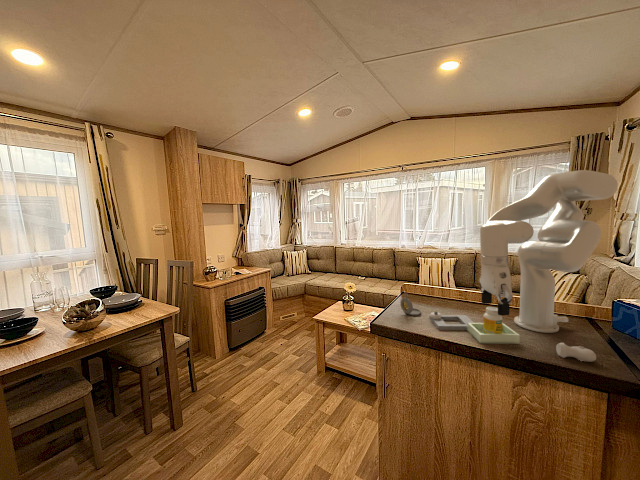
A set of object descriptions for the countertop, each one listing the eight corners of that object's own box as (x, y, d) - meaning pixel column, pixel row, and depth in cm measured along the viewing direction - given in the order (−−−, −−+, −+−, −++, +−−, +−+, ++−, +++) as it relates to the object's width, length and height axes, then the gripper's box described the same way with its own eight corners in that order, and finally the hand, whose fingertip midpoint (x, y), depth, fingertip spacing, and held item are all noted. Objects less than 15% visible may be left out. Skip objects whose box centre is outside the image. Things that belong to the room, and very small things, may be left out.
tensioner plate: (465, 318, 100) (465, 309, 100) (478, 330, 91) (478, 319, 90) (428, 318, 102) (428, 309, 102) (437, 329, 92) (437, 319, 92)
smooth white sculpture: (591, 362, 71) (598, 366, 67) (554, 354, 76) (558, 357, 71) (591, 347, 72) (598, 350, 68) (554, 339, 76) (558, 342, 72)
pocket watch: (422, 311, 109) (422, 289, 108) (418, 319, 102) (418, 295, 101) (403, 308, 114) (403, 287, 113) (398, 315, 107) (398, 293, 106)
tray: (502, 330, 89) (502, 322, 89) (519, 343, 80) (519, 335, 80) (467, 330, 91) (467, 322, 90) (480, 343, 82) (480, 334, 81)
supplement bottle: (487, 330, 89) (488, 304, 88) (504, 336, 84) (505, 309, 83) (480, 334, 86) (480, 308, 85) (497, 340, 82) (498, 312, 81)
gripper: (524, 265, 74) (524, 319, 76) (491, 254, 91) (491, 299, 93) (497, 267, 75) (498, 320, 77) (469, 256, 92) (470, 300, 94)
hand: (494, 308), depth 85 cm, fingers open, 9 cm apart
